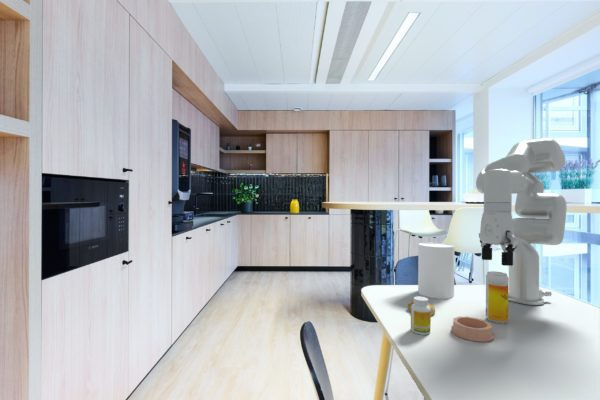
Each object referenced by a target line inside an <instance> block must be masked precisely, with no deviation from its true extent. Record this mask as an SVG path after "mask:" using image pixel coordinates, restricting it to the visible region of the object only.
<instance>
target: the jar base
mask: <svg viewBox="0 0 600 400" xmlns="http://www.w3.org/2000/svg"><path fill="white" fill-rule="evenodd" d="M452 320H453V321H452V323H453V325H452V326H451V328H450V329H451V333H452V334H453V335H454V336H456V337H458V338H461V339H463V340H466V341H469V342H475V343H489V342H493V340H494V339H495V335H494V332H493V331H492V330H493V327H492V324H491V323H489V321H486V320H484V319H480V318H477V317H472V316H456V317H453V319H452Z"/></svg>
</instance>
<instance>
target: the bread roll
mask: <svg viewBox="0 0 600 400" xmlns="http://www.w3.org/2000/svg"><path fill="white" fill-rule="evenodd" d="M413 301H414V299H413V300H411V301H410V302H409V303H408V305H407V307H408V310H409V311H410V312H411V306H412V304H414V302H413ZM428 306H429V307H430V309H431V317H432V316H434V315H436V308H435V306H433V305H432V304H430V302H428Z"/></svg>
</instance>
